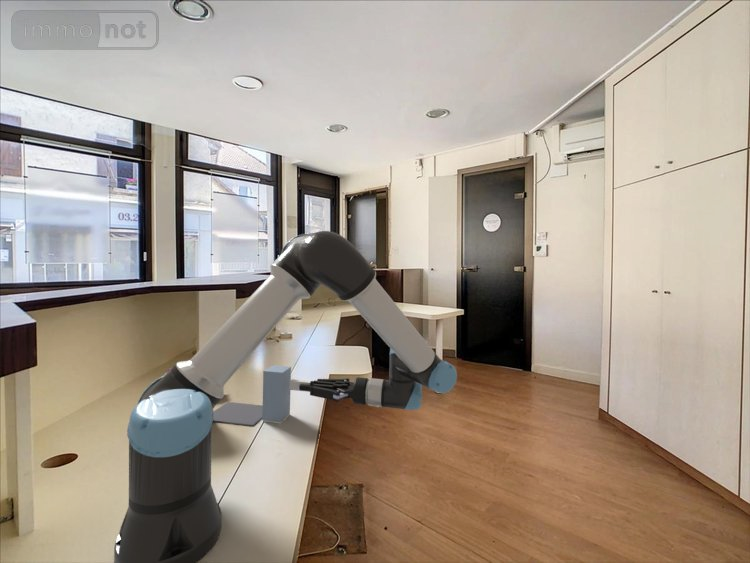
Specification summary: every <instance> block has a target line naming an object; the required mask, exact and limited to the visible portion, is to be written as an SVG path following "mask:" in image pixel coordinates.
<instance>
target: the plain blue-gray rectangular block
mask: <svg viewBox="0 0 750 563" xmlns="http://www.w3.org/2000/svg"><path fill="white" fill-rule="evenodd" d="M262 372H263V373H262V374H263V376H262V405H263V412H262V419H261V421H262V422H268V423H275V424H283V422H285V420H286V419H287V418H288V417H289V416H291V390H290V380H292V379H291V378H292V367H291V366H284V365H270V366H269V367H267V368H266V369H264V370H263V371H262Z"/></svg>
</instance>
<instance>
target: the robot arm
mask: <svg viewBox="0 0 750 563" xmlns="http://www.w3.org/2000/svg"><path fill="white" fill-rule="evenodd" d="M376 278H377V272H376V270H375V269H374V268H373V266H372V265H371V264H370V263H369V261H368V260H367V259H366V258H365V256H364V255H363V254H362V253H361V252H360V250H358V249H357V248H356V247H355V246H354V244H352V242H350V241H349V240H348V239H347V238H345V237H344V236H342V235H341V234H339V233H337V232H334V231H329V230H321V231H317V232H310V233H301V234H299V235H296V236H294V237H292V238H291V239H290V240H288V241H287V242H286V243H285V245H284V246H283V248H282V249H281V252H280V255H278V257H277V258H276V259H275V260H274V261H273V262H272V263H271V264H270V274H269V276H267V278H266V279H265V280H264V282H262V283H261V284H260V286H258V288H257V289H256V290H254V292H252V294H251V295H250V296H249V297H248V298H247V299H246V300H245V301H244V302H243V304H242V305H241V306H239V307H238V309H237V310H236V311H235V312H234V313H233V314H232V315H231V316H230V317H229V318H228V319H227V321H226V322H225V323H224V324H223V325H222V326H220V327H219V329H218V330H217V331H216V332H215V333H214V334H213V335H212V336H211V337H210V338H209V339H208V340H207V342H206V343H204V345H203V346H202V347H200V349H199V350H198V351H197V352H196V353H195V354H194V355H193V356H192V357H191V358H190V359H189V360H182V361H177V362H176V363H175V364H174V366H172V367H170V368H171V369H170V368H169V369H170V370H169V369H168V370H169V371H168V370H167V371H168V372H167V371H166V372H167V374H166V373H165V374H166V375H165V374H164V375H165V376H164V375H162V376H160V377H159V378H156V379H155V380H154V381H152V382H151V383H150V384H148V386H147V387H146V388H145V390H143V392H142V393H141V395H140V397H139V399H138V402H137V404H136V405H135V406H134V408H133V409H132V410H131V412H130V416H129V421H128V424H127V429H126V430H127V431H126V432H127V433H126V435H127V436H126V437H127V438H128V506H127V510H126V513H125V515H124V518H123V521H122V523H121V525H120V529H119V533H118V534H117V537H116V540H115V542H114V550H113V553H114V554H113V555H114V556H113V557H114V558H113V563H197V562H199V560H201V559H202V558H203V557H204V556H205V555H206V554H207V553H209V551H210V550H211V549H212V548H213V547H214V546H215V545H216V543H217V541H218V540H219V537H220V535H221V532H222V518H223V516H222V510H221V507H220V504H219V503H218V501H217V498H216V495H215V492H214V489H213V486H212V441H213V440H212V432H213V429H212V428H213V427H212V426H213V423H214V422H213V412H214V408H215V407H216V406H217V405H218V403H219V402H221V400H222V399H224V396H225V394H224V390H225V389H224V387H225V385H226V384H227V383H228V381H229V380H230V379H231V378H232V377H233V375H235V373H237V371H238V370H239V369H240V367H241V366H242V365H243V364H245V362H246V361H247V360H248V359H249V357H250V356H251V355H252V354H253V352H255V351H256V349H257V348H258V347H259V346H260V345H261V344H262V343H263V342H264V340H266V338H267V337H268V336H269V335H270V334H271V332H272V331H273V330H274V329H275V328H276V327H277V326H278V325H279V323H280V322H281V321H283V319H284V318H285V317H286V316H287V314H288V313H289V312H290V311H291V310H292V309H293V308H294V306H296V304H297V303H298V302H299V301H300V300H305V299H306V300H307V299H310V298H311V297H312V296H313V295H314V294H315V292H316V291H317V290H318V289H319V288H320V287H321V286H323V287H326V288H327V289H329V290H331V291H332V292H333V294H335V296H337V297H338V298H339V300H341V301H342V302H349V303H350V305H351V306H352V307H353V308H354V309H355V310H356V311H357V312H358V314H359V315H360V316H361V317H362V318H363V319H364V321H365V322H367V324H368V325H369V326H370V327H371V328H372V329H373V330H374V331H375V333H377V335H378V336H379V337H380V338H381V339H382V341H383V342H384V343H385V345H387V346H388V347H389V368H388V370H389V371H388V372H389V374H388V379H381V378H373V377H371V378H370V379H369V378H368V377H360V376H359V377H356V378H354V379H355V380H354V382H352V381H350V378H348V377H346V378H317V380H302V379H295V378H293V379H291V380H290V391H297V392H307V393H309V396H312V397H316V398H322V399H327V400H331V401H334V402H336V403H338V402H341V401H340V399H344V400H345V399H347V400H348V399H351V400H352V403H353V404H354V405H357V406H366V405H368V406H370V407H375V408H378V409H379V407H380V408H389V409H398V410H404V411H417V410H419V409H421V407H422V396H423V394H422V393H423V390H422V389H423V386H424V387H425V388H428V389H429V390H430V391H433V392H436V393H439V394H446V393H448V392H450V391H452V389H453V388H454V386H456V382H457V379H458V378H457V377H458V373H457V369H456V368H455V366H454V365H453V364H451V363H449V362H448V361H446V360H442V359H441V358H440V357H439V355H437V353H436V352H435V351H434V350H433V349H432V347H431V346H430V345H429V343H428V342H427V341H426V340H425V339H424V338H423V336H422V335H421V334H420V332H419V331H418V330H417V329H416V328H415V326H414V325H413V324H412V323H411V321H410V320H409V319H408V318H407V316H406V315H405V313H403V311H402V310H401V309H400V308H399V306H398V305H397V304H396V303H395V301H394V300H393V299H392V297H391V296H390V295H389V294H388V293H387V292H386V290H385V289H384V288H383V286H382V285H381V284H380V283H379V281H378V280H377V279H376ZM224 384H225V385H224ZM212 409H213V410H212Z"/></svg>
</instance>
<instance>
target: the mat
mask: <svg viewBox="0 0 750 563" xmlns="http://www.w3.org/2000/svg"><path fill="white" fill-rule="evenodd" d="M262 412H263V404H261V405H260V404H253V403H252V404H251V403H243V402H242V403H240V402H230V401H227V402H225V403H223V405H221V406H219V407H218V408H217V409H215V410H213V422H212V423H221V424H230V425H237V426H239V425H240V426H248V427H254V426H255V425H256V424H258V423H259V422H260V420H261V421H262Z"/></svg>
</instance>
